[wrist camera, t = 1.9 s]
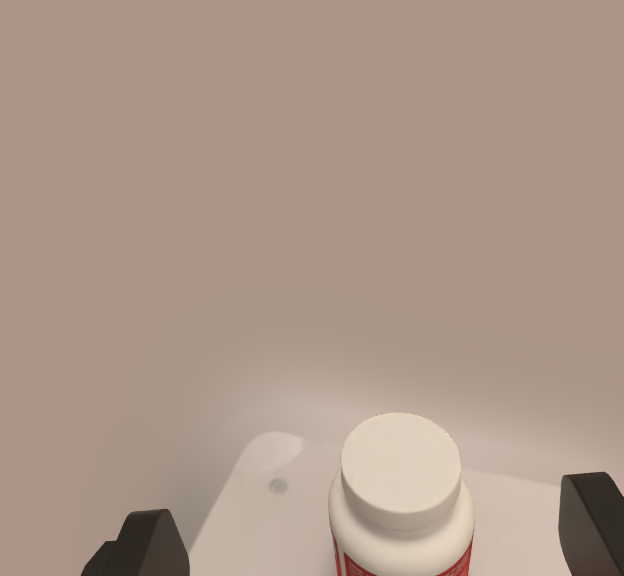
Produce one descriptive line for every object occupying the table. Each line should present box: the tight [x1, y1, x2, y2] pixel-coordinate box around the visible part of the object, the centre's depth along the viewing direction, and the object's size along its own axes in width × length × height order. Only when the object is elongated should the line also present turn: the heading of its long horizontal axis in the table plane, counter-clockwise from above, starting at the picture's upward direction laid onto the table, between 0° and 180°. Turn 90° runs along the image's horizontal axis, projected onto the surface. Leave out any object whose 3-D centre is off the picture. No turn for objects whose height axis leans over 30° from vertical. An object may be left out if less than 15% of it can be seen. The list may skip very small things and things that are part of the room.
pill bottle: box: [328, 413, 475, 576], centre depth 23 cm, size 6×6×11 cm
